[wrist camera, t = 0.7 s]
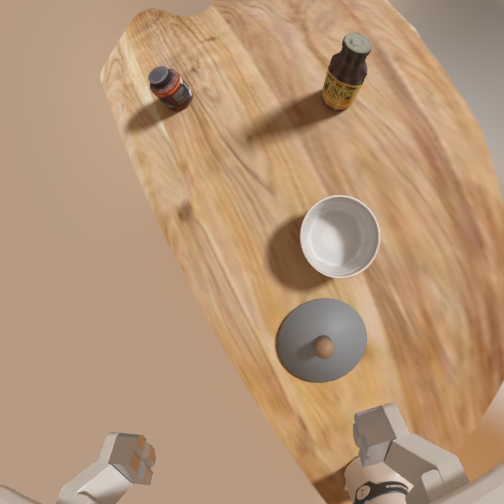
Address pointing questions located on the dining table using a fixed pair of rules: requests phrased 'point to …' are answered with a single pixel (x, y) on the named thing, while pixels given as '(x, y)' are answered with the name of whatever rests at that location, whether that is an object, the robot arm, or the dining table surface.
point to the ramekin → (339, 236)
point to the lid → (322, 340)
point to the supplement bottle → (170, 88)
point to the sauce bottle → (346, 72)
